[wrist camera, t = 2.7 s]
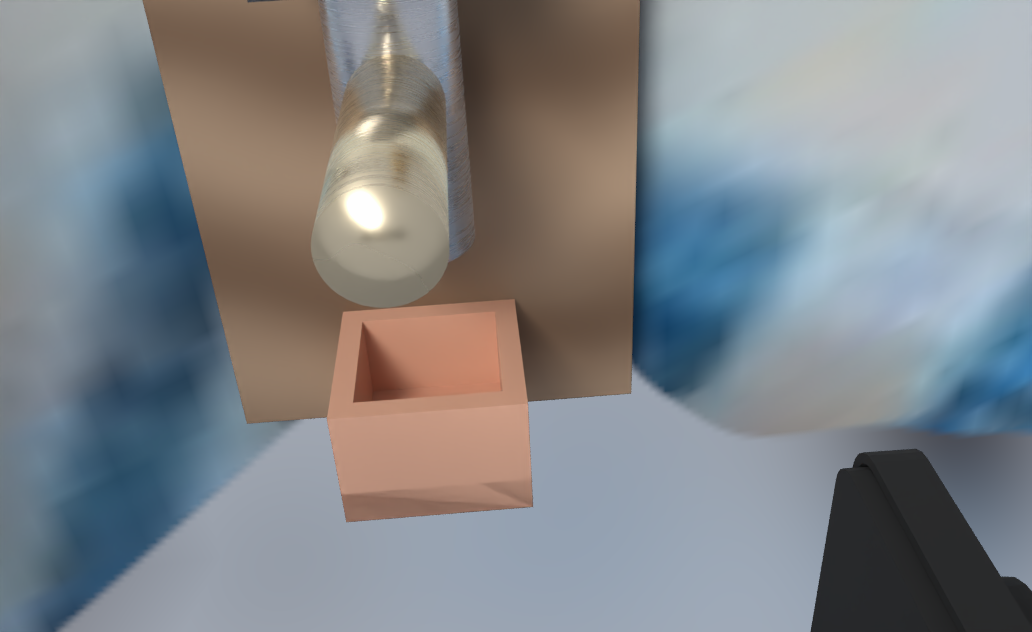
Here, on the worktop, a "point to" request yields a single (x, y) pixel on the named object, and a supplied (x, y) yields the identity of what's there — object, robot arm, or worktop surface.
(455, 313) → the socket block
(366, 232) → the brushed metal peg
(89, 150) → the worktop surface
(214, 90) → the base board
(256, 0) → the outer sleeve
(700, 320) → the worktop surface
